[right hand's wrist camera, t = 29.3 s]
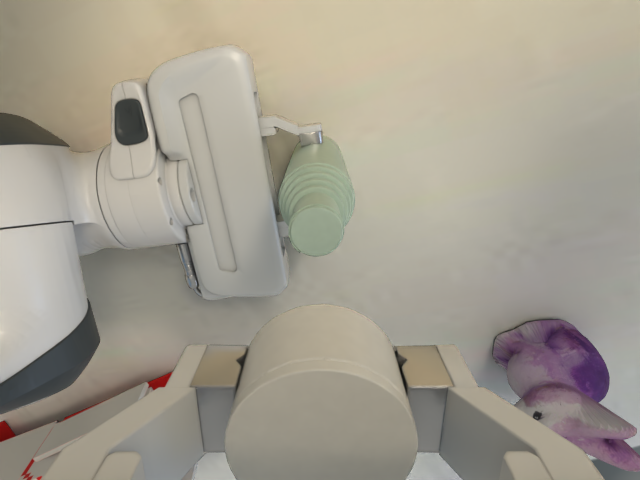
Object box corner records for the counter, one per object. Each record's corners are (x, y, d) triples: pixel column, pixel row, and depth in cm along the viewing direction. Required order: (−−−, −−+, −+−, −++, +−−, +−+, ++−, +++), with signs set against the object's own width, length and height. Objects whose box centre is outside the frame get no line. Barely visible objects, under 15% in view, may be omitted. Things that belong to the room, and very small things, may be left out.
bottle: (316, 123, 38) (315, 163, 19) (352, 160, 39) (385, 232, 20) (281, 160, 39) (247, 232, 20) (317, 194, 40) (316, 294, 21)
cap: (222, 325, 10) (194, 397, 8) (376, 284, 9) (394, 348, 7) (273, 441, 11) (261, 533, 9) (410, 409, 11) (435, 497, 8)
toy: (248, 495, 41) (-41, 608, 40) (251, 404, 54) (31, 489, 53) (195, 402, 37) (-125, 525, 37) (212, 327, 50) (-26, 418, 49)
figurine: (468, 353, 47) (533, 469, 32) (545, 295, 44) (651, 394, 30) (518, 400, 49) (599, 528, 35) (594, 348, 46) (713, 463, 32)
